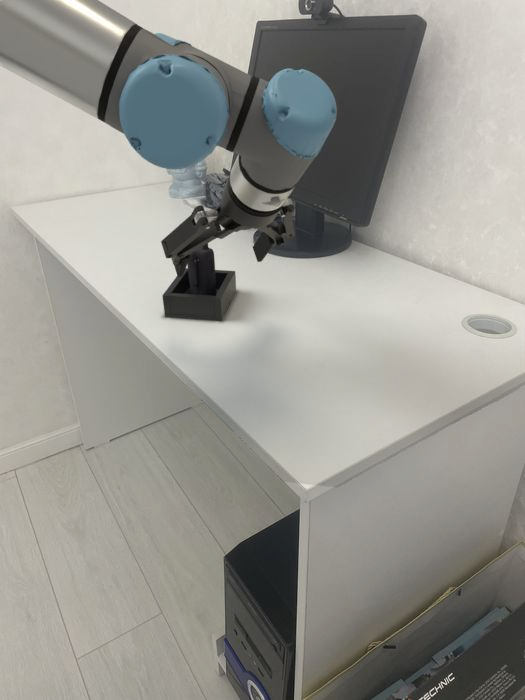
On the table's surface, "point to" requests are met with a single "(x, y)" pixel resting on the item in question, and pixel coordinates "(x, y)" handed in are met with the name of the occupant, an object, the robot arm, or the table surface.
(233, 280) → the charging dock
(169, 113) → the robot arm
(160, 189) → the table surface
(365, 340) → the table surface
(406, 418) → the table surface
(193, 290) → the two-way radio
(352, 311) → the table surface
